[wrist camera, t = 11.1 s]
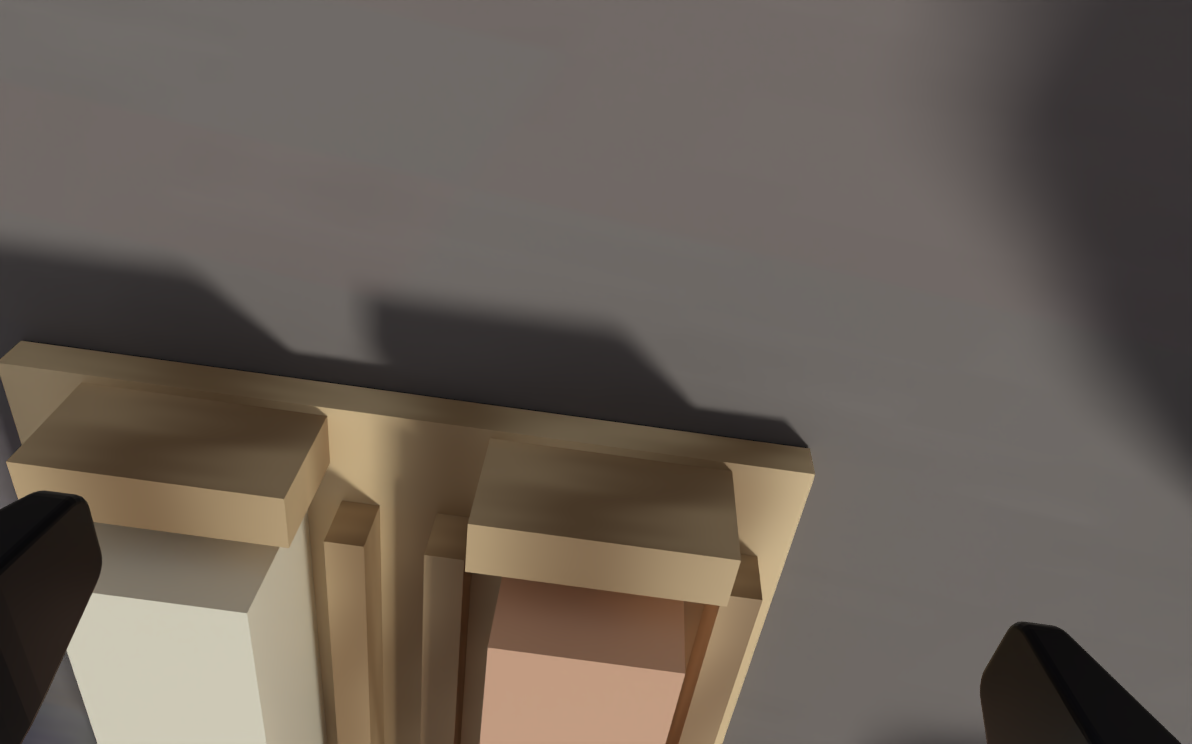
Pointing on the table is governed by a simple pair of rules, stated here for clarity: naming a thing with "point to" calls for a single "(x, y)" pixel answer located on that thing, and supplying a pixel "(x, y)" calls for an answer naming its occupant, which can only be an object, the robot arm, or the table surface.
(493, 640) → the fired brick
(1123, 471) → the table surface
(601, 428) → the rack
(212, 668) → the long ivory plank
